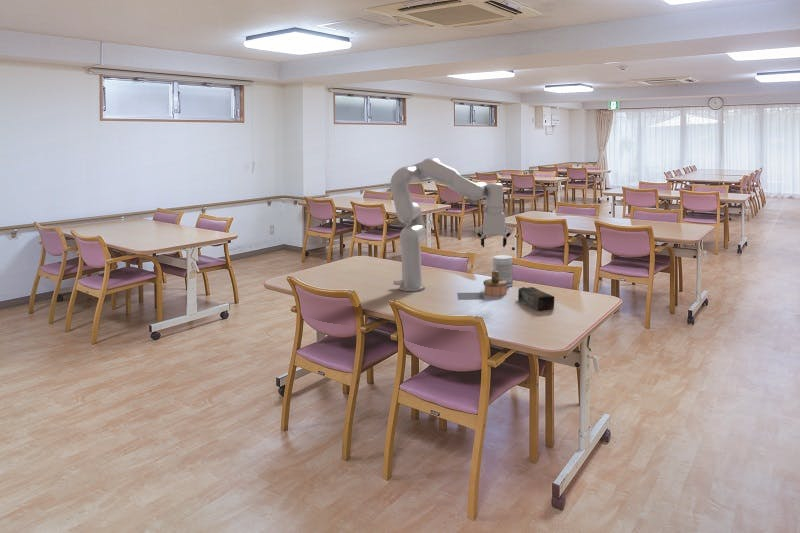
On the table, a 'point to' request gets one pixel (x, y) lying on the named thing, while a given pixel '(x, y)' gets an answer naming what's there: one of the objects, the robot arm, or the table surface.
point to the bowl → (495, 290)
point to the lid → (495, 280)
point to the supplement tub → (504, 268)
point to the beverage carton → (536, 298)
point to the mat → (470, 296)
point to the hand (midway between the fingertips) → (493, 246)
